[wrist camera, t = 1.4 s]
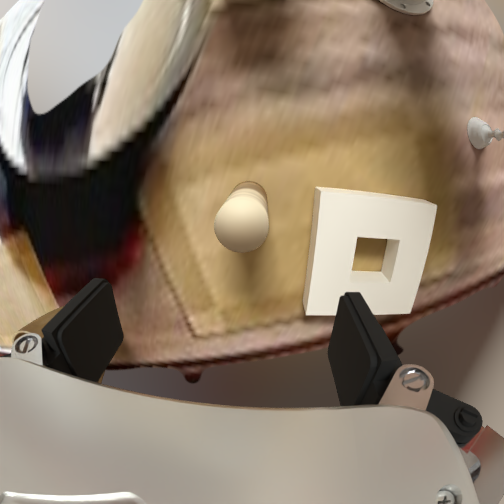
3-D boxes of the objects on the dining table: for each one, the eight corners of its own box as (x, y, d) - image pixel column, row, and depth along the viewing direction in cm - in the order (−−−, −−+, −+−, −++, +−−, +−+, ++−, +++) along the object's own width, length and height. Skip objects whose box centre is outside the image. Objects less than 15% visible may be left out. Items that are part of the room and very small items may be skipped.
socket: (315, 186, 32) (320, 191, 29) (423, 199, 32) (437, 205, 29) (302, 301, 38) (305, 315, 35) (400, 301, 38) (409, 313, 35)
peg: (231, 180, 33) (213, 199, 21) (267, 182, 32) (270, 201, 21) (230, 215, 34) (214, 251, 23) (266, 217, 34) (267, 253, 23)
